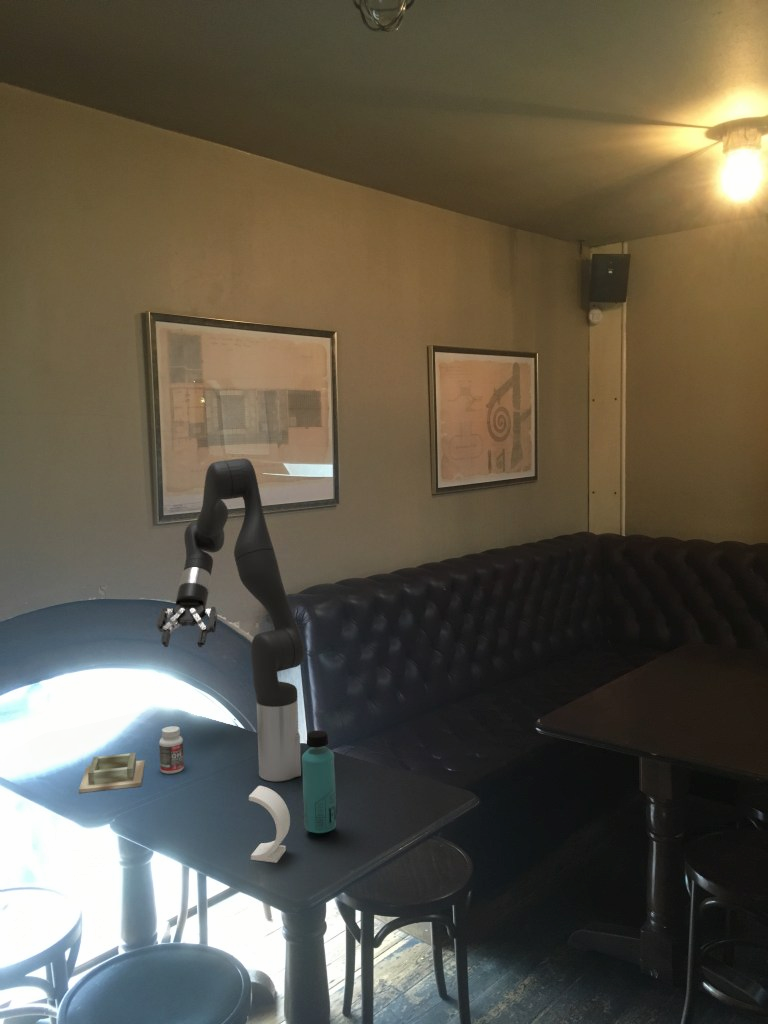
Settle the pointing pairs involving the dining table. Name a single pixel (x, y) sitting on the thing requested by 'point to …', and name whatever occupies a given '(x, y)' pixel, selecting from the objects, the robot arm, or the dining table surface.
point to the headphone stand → (282, 821)
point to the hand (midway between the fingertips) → (182, 645)
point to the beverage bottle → (319, 784)
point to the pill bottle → (171, 750)
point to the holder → (112, 773)
